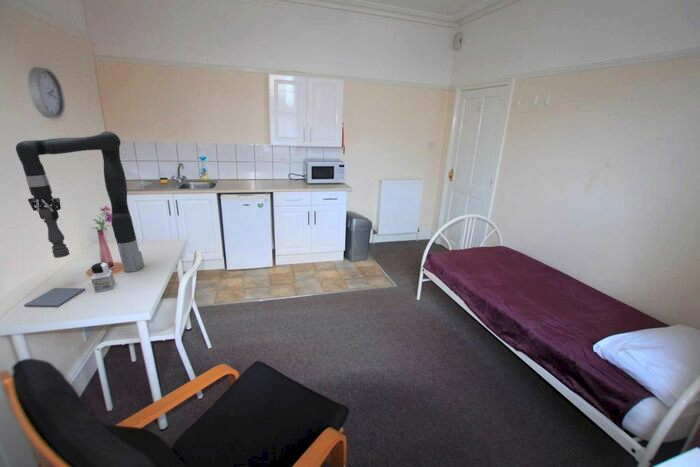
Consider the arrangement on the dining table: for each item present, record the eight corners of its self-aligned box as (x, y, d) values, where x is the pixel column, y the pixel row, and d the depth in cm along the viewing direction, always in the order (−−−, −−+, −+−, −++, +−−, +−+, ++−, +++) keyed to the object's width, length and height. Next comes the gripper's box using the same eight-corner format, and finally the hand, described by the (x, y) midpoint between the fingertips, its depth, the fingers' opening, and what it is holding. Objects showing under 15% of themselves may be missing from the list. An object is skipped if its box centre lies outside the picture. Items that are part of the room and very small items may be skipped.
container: (94, 292, 165) (87, 268, 161) (97, 285, 172) (90, 262, 168) (113, 288, 169) (107, 265, 164) (115, 282, 175) (109, 260, 171)
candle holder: (60, 258, 166) (44, 209, 158) (50, 257, 168) (34, 209, 159) (72, 253, 172) (58, 206, 164) (63, 252, 173) (48, 205, 165)
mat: (85, 290, 168) (85, 288, 167) (58, 307, 153) (57, 305, 152) (55, 289, 168) (54, 287, 168) (24, 306, 153) (24, 304, 153)
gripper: (60, 183, 161) (70, 216, 167) (31, 183, 162) (43, 216, 167) (46, 186, 154) (57, 221, 159) (16, 186, 154) (28, 221, 160)
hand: (50, 218), depth 163 cm, fingers closed on candle holder, 5 cm apart
